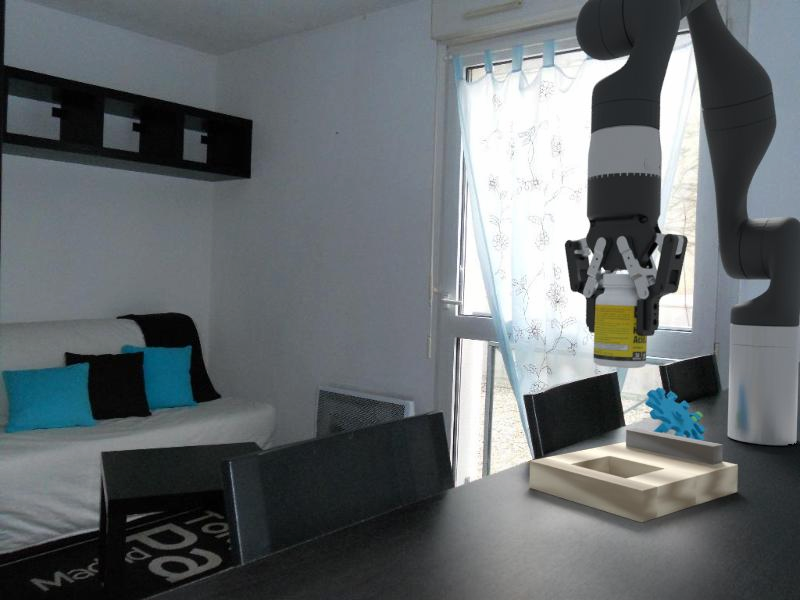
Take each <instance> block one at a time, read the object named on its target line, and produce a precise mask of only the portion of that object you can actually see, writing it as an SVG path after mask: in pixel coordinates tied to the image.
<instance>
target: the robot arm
mask: <svg viewBox="0 0 800 600" xmlns="http://www.w3.org/2000/svg"><path fill="white" fill-rule="evenodd" d="M684 18H686V22H687V26H688V27H687V28H688V30H689V34H690V35H689V36H690V40H691V44H692V49H693V54H694V55H693V56H694V62H695V67H696V72H697V81H698V83H697V84H698V91H699V96H700V97H699V98H700V107H701V113H702V119H703V124H704V130H705V131H704V132H705V135H706V136H705V137H706V141H707V147H708V152H709V158H710V163H711V170H712V171H711V172H712V177H713V183H714V191H715V194H714V195H715V205H716V206H715V207H716V220H717V221H716V222H717V234H718V235H717V237H718V247H719V255H720V260H721V265H722V268H723V270H724V272H725V273H726V275H727V276H728V277H730V278H731V279H735V280H746V281H747V280H750V281H751V280H763V281H764V280H770V281H769V286H768V288H767V289H766V291H764V292H763V293H762V294H759V295H757V297H754V298H752V299H750V300H747V301H743V302H740V303H736V304H734V305H733V306H732V307H731V308H730V309H731V310H730V316H729V317H730V318H729V322H730V324H729V325H730V326H729V330H730V331H729V362H728V363H729V364H728V365H729V369H728V370H729V371H728V402H727V403H728V405H727V406H728V407H727V409H728V411H727V437H728V438H730V439H732V440H736V441H738V442H744V443H749V444H755V445H756V444H757V445H767V446H789V445H788V444H792V445H794V443H795V444H796V443H797V436H798V435H797V431H798V402H799V401H798V400H799V399H798V397H799V395H798V394H799V365H800V364H799V363H800V362H799V361H800V360H799V358H800V353H799V352H800V220H799V219H798V218H796V217H791V216H778V217H761V218H749V214H748V205H747V204H748V192H749V189H750V185H751V183H752V181H753V178H754V176H755V173H756V171H757V169H758V168H759V166H760V165H761V162H762V161H763V159H764V156H765V155H766V153H767V151H768V149H769V147H770V145H771V143H772V141H773V138H774V136H775V133H776V131H777V130H776V129H777V115H776V114H777V113H776V107H775V106H776V104H775V98H774V90H773V84H772V81H771V78H770V76H769V73H768V72H767V70H766V69H765V68H764V67H763V66H762V64H761V63H760V61H758V60H757V59H756V58H755V57H754V56H753V54H752V53H750V51H748V50H747V49H746V48H745V46H743V45H742V44H741V43H740V42H739V40H738V39H737V38H736V37H735V36H734V35H733V33H732V32H731V31H730V30H729V28H728V26H727V25H726V23H725V21H724V19H723V17H722V14H721V12H720V9H719V6H718V3H717V0H586V1H585V2H584V3H583V4H582V7H581V8H580V10H579V12H578V15H577V17H576V21H575V36H576V37H575V38H576V41H577V43H578V46H579V47H580V49H581V50H582V52H583V53H584V54H585V55H587V56H588V57H590V58H592V59H594V60H597V61H611V60H617V59H620V58H624V57H628V58H627V59H626V62H625V63H624V65H623V66H621V67H620V68H619V69H618V70H616V71H614V72H612V73H610V74H609V75H606V76H605V77H603V78H601V79H600V80H598V82H596V83H595V85H594V87H593V88H592V94H591V108H590V109H591V114H590V115H591V116H590V122H591V123H590V126H591V127H590V139H589V146H588V147H589V148H588V153H587V154H588V155H587V185H586V186H587V187H586V189H587V190H586V192H587V193H586V194H587V196H586V217H587V220H588V221H589V222H588V223H589V228H588V231H587V233H586V236H585V237H584V238H580V239H567V240H566V241H565V243H564V250H565V257H566V264H567V265H566V266H567V271H568V280H569V281H568V282H569V287H570V290H571V291H572V292H573V293H579V294H581V295H582V296H584V298H585V300H586V301H585V303H586V304H585V323H586V327H587V328H588V331H589V332H590V333H593V334H594V327H595V304H596V298H597V297H598V296H599V295H601V294H603V293H604V292H605V287H603V275H604V274H617V272H619V271H620V272H622V271H627V274H629V276H630V278H631V279H632V280H633V281H634V283H635V286H636V289H637V292H638V295H639V297H640V298H641V300H637V334H638V335H639V336H647V337H651V336H654V335H655V331H658V328H659V324H660V320H659V319H660V300H661V299H662V298H663V297H665V296H667V295H670V294H675V293H677V292H678V290H679V286H680V282H681V281H680V280H681V275H682V272H683V267H684V262H685V258H686V251H687V246H688V243H689V241H688V240H689V239H688V237H687V236H686V235H683V234H674V233H667V234H666V233H662V231H661V228H660V226H659V219H660V216H661V208H662V207H661V203H662V199H661V198H662V197H661V196H662V165H663V164H662V161H663V160H662V159H663V158H662V154H663V151H662V144H661V95H662V90H663V85H664V82H665V79H666V74H667V70H668V67H669V63H670V59H671V56H672V53H673V51H674V47H675V44H676V42H677V41H676V40H677V37H678V33H679V30H680V25H681V21H682V20H683V19H684ZM656 250H658V252H659V254H660V255H659V260H658V264H657V266H656V263H655V261H654V257H653V254H654V253H655V251H656ZM591 253H592V258H591V261H590V259H589V256H590V255H591Z"/></svg>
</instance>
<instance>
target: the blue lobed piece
mask: <svg viewBox="0 0 800 600" xmlns="http://www.w3.org/2000/svg"><path fill="white" fill-rule="evenodd" d="M665 394H666V390H665V389H664V388H661V387H657V388H656V389H651V390H649V391H648V392H647V393H646V396H647V397H648V398H647V399H646V400H645V403H644V405H646V406H647V407H648V408H650V409H651V410H650V411H649V416H650V418H651V419H652V420H659V421H662V423H660V424H659V425H658V426H657V427H656V428H655V429H654V430H653V431H654V432H659V433H664V434H668V432H669V431H670V430H673V431H675V432H674V435H675V436H680V437H686V438H691V439H696V440H702V441H705V439H706V438H705V437H704V436H703V434H704V433H705V432H706V428H705V427H704V426H703V425H701V424H699V421H701V418H703V414H702V413H701V412H700V411H696V412H689V411H688V410H689V409H690V408H691V405H690V404H689V403H688V402H687V401H686V400H683V401H681V402H680V403H679V402H676V400H677V399H678V395H677V394H676V393H675V392H673V391H669V392H668V393H667V394H666V396H665Z"/></svg>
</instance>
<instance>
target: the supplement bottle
mask: <svg viewBox="0 0 800 600" xmlns="http://www.w3.org/2000/svg"><path fill="white" fill-rule="evenodd" d="M603 287H605V292H604V293H603V294H601V295H599V296H598V297H597V298H596V304H595V327H594V333H593V357H592V358H593V363H594V364H595V365H597V366H601V367H608V368H609V367H611V368H622V369H638V368H639V369H640V368H643V367H645V366H646V364H647V347H648V345H647V344H648V343H647V342H648V336H639V335H638V334H637V300H641V298H640V297H639V295H638V292H637V289H636V286H635V283H634V281H633V280H632V279H631V278H630V276H629V274H628V273H616V274H604V275H603Z"/></svg>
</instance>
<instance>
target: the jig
mask: <svg viewBox="0 0 800 600" xmlns="http://www.w3.org/2000/svg"><path fill="white" fill-rule="evenodd" d="M723 448H724V446H723V443H722V444H721V443H717V442H711V441H706V440H703V441H702V440H696V439H691V438H687V437H686V436H684V437H680V436H675V434H670V433H664V432H663V433H659V432H654V430H648V429H642V428H638V427H637V428H636V427H634V428H627V429H626V430H625V441H624V442H618V443H613V444H608V445H602V446H598V447H594V448H588V449H584V450H577V451H573V452H568V453H563V454H557V455H553V456H547V457H542V458H538V459H533V460H529V484H528V485H529V489H532V490H534V491H538V492H541V493H546V494H548V495H552V496H554V497H558V498H562V499H563V500H564V499H565V500H567V501H571V502H575V503H577V504H580V505H584V506H587V507H591V508H593V509H596V510H600V511H604V512H606V513H610V514H612V515H617V516H618V517H622V518H626V519H628V520H629V519H630V520H632V521H635V522H639V523H645V522H648V521H650V520H653V519H656V518H660V517H663V516H666V515H670V514H672V513H676V512H678V511H682V510H684V509H689V508H691V507H695V506H697V505H700V504H704V503H706V502H709V501H713V500H716V499H719V498H722V497H726V496H729V495H732V494H734V493H738V480H739V478H738V473H739V472H738V470H739V468H738V467H739V465H738V464H737V463H736V464H735V463H731V462H727V461H723V450H724V449H723Z"/></svg>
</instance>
